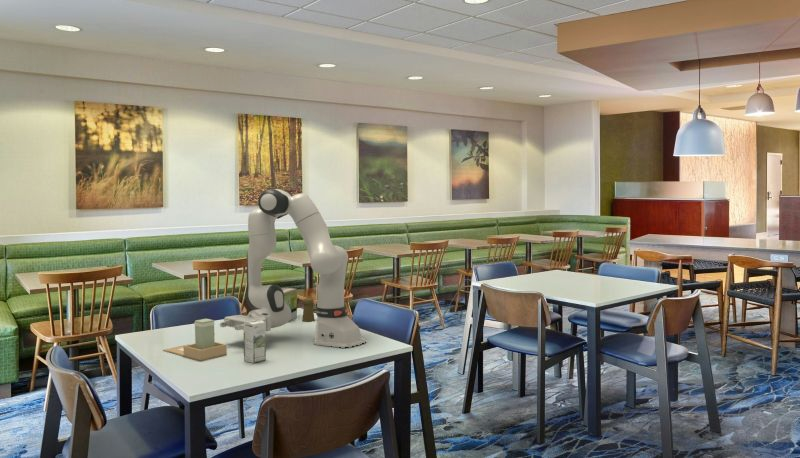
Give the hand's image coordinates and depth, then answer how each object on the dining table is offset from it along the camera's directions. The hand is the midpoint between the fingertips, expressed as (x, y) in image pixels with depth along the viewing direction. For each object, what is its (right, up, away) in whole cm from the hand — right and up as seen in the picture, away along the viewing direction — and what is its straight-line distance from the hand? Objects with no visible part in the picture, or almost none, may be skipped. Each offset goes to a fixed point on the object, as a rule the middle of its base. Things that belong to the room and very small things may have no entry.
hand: (228, 326), depth 241 cm
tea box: (+10, -6, +59) cm, 60 cm away
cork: (+23, -6, +56) cm, 61 cm away
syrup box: (+14, -10, -15) cm, 23 cm away
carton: (-7, -9, -7) cm, 14 cm away
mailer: (-12, -10, -3) cm, 16 cm away
